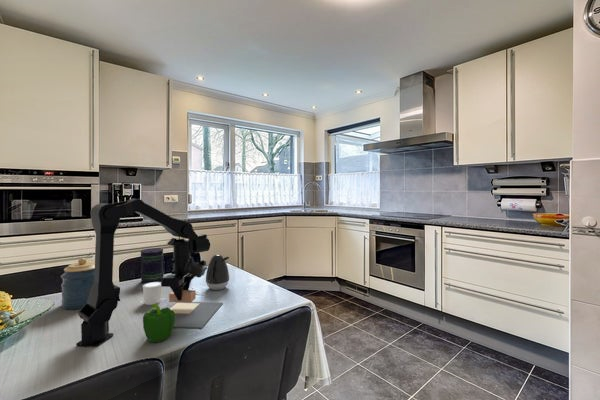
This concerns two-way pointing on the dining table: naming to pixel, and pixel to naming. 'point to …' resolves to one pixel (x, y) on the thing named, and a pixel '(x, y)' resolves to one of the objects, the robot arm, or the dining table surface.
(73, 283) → the canister
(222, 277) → the pump dispenser
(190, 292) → the flat block
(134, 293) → the dining table surface
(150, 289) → the white cup
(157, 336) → the bell pepper
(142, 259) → the storage jar
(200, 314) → the rubber mat
